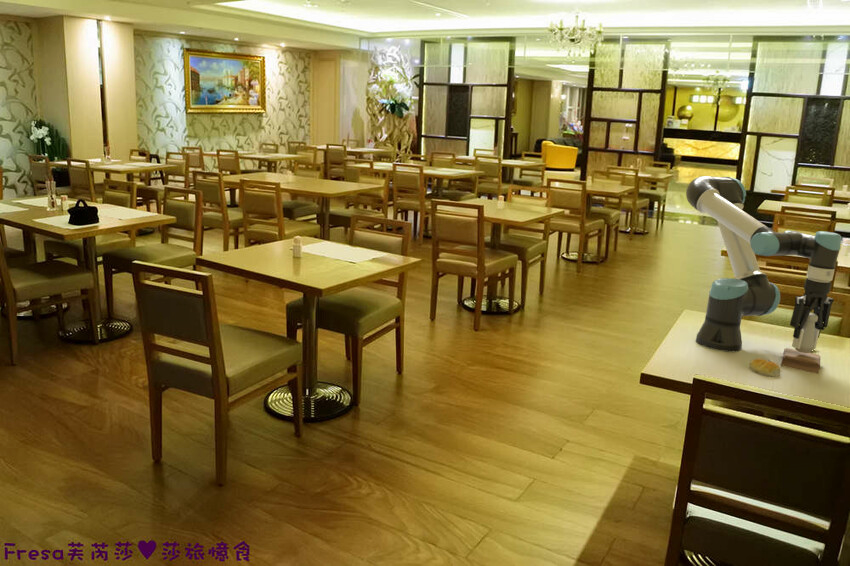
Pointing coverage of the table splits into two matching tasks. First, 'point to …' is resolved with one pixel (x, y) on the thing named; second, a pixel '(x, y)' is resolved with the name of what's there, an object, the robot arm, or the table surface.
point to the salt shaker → (808, 334)
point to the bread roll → (765, 367)
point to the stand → (801, 360)
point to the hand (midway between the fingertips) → (803, 347)
